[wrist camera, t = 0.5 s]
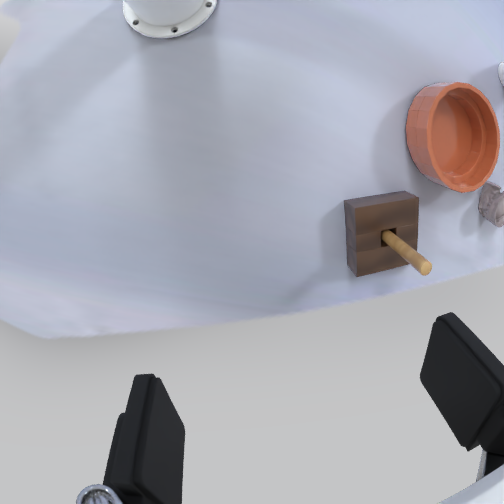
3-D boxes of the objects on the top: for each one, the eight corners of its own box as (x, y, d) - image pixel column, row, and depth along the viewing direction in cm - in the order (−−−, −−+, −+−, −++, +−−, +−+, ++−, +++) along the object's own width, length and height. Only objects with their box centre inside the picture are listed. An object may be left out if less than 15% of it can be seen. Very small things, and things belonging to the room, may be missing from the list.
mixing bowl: (397, 81, 36) (420, 78, 31) (472, 87, 36) (496, 88, 31) (406, 187, 43) (428, 198, 38) (476, 178, 43) (499, 187, 38)
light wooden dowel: (371, 223, 45) (421, 263, 32) (381, 221, 45) (432, 260, 32) (372, 234, 46) (419, 277, 33) (381, 232, 46) (431, 273, 33)
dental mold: (471, 194, 44) (489, 203, 40) (492, 174, 43) (510, 181, 39) (481, 227, 47) (498, 237, 43) (501, 207, 46) (517, 215, 42)
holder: (343, 200, 43) (354, 208, 39) (404, 190, 43) (418, 197, 39) (347, 265, 47) (356, 277, 44) (403, 252, 48) (416, 262, 44)
